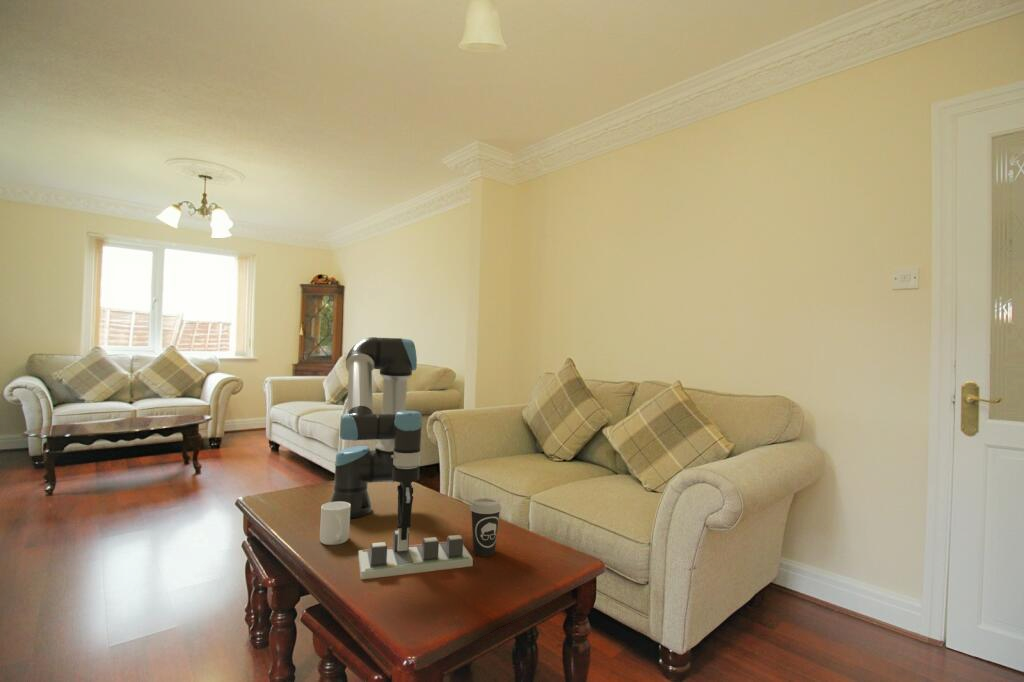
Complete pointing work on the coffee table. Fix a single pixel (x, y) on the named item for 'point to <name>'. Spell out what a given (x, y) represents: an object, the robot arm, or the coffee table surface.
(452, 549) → the block
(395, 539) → the block
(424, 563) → the panel
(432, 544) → the block
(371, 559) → the block
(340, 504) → the mug
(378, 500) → the coffee table surface
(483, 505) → the coffee cup
